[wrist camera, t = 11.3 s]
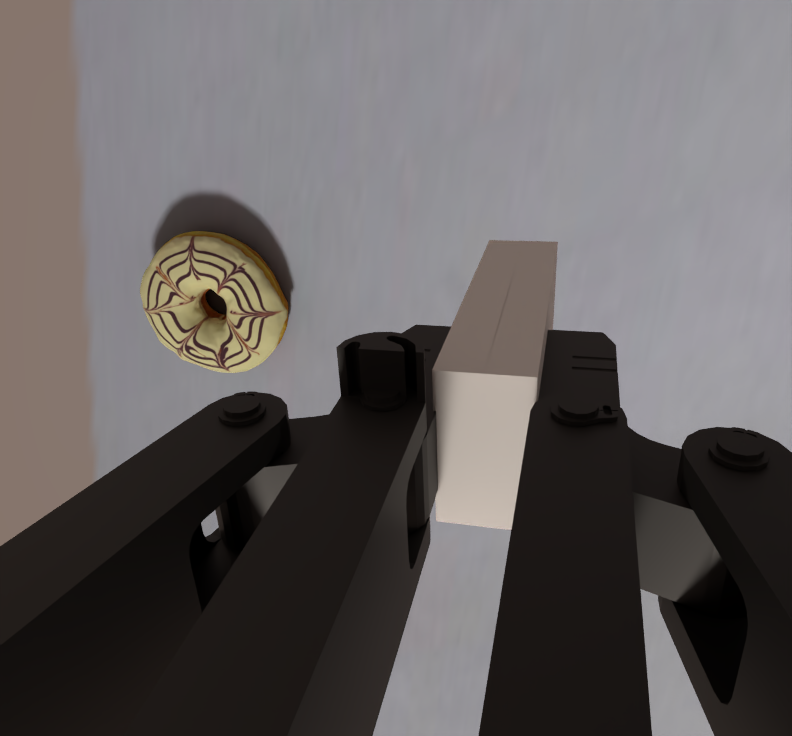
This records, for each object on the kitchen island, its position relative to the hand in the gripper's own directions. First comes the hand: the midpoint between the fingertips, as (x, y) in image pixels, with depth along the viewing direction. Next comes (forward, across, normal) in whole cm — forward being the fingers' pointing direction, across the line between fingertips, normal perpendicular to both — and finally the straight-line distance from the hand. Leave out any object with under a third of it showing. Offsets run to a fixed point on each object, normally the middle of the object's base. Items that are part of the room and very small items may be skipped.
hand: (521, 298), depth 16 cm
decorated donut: (+30, -24, -12) cm, 40 cm away
